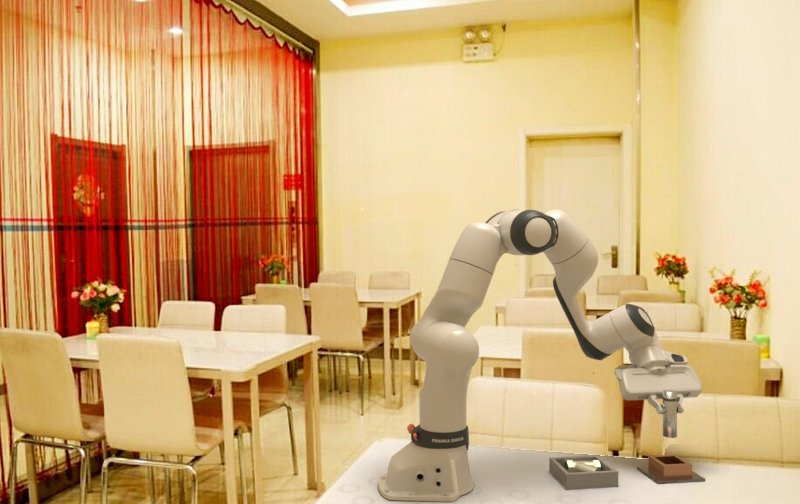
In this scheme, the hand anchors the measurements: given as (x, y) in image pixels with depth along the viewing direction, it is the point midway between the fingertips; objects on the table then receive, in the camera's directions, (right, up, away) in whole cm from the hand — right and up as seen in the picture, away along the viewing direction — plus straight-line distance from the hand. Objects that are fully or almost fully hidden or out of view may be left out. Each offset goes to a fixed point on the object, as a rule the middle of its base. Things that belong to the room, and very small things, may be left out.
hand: (671, 412), depth 153 cm
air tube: (0, -6, +1) cm, 6 cm away
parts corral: (-22, -16, -1) cm, 27 cm away
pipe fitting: (-21, -16, 0) cm, 27 cm away
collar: (0, -15, +1) cm, 15 cm away
